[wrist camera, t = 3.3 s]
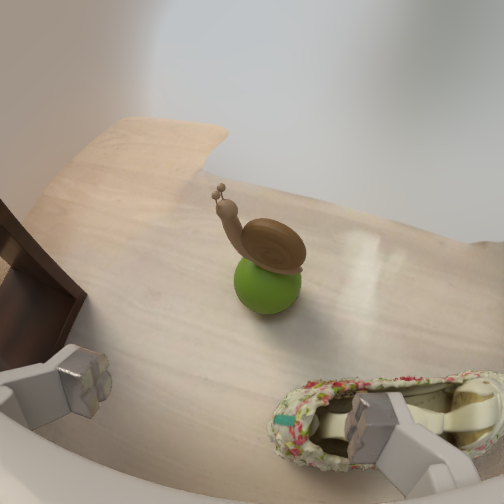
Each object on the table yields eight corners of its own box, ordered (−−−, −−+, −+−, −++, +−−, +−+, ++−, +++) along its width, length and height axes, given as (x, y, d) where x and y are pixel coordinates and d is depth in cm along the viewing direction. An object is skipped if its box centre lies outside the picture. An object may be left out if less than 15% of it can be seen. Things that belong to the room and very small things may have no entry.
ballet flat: (506, 446, 17) (559, 438, 11) (261, 489, 19) (263, 517, 12) (502, 362, 22) (553, 337, 16) (268, 381, 23) (273, 363, 17)
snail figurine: (242, 255, 30) (234, 159, 19) (305, 280, 28) (331, 189, 18) (215, 303, 27) (190, 220, 17) (283, 332, 26) (301, 262, 15)
